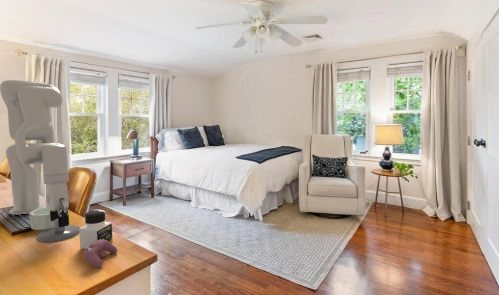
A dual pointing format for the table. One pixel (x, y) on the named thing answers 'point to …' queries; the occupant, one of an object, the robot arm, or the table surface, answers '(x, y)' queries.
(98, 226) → the medicine bottle
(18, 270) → the table surface
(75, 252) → the table surface
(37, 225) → the bowl
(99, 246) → the video game controller
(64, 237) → the lid
